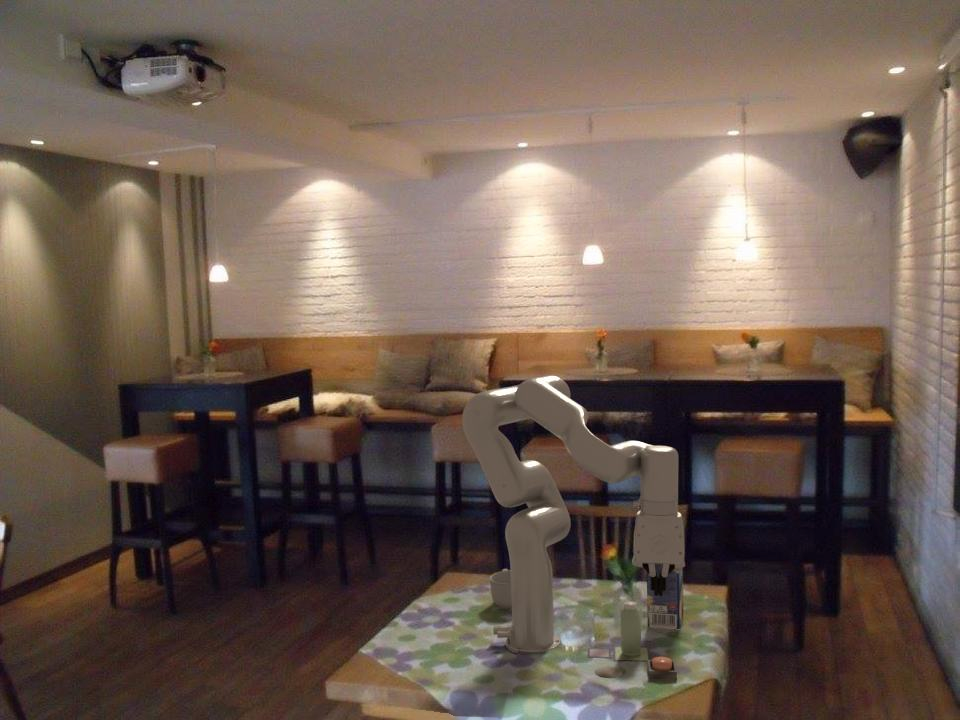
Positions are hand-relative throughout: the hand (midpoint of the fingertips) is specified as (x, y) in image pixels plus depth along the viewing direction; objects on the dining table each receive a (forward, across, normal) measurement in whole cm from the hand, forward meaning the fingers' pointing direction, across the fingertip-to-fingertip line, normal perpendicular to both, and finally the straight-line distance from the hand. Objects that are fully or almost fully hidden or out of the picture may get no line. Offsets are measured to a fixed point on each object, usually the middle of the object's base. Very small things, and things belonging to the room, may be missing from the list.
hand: (658, 593), depth 188 cm
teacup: (+20, -35, +43) cm, 59 cm away
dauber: (+17, -5, +9) cm, 20 cm away
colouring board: (+18, -6, +4) cm, 20 cm away
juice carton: (+18, +4, +33) cm, 38 cm away
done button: (+16, +1, -1) cm, 16 cm away
